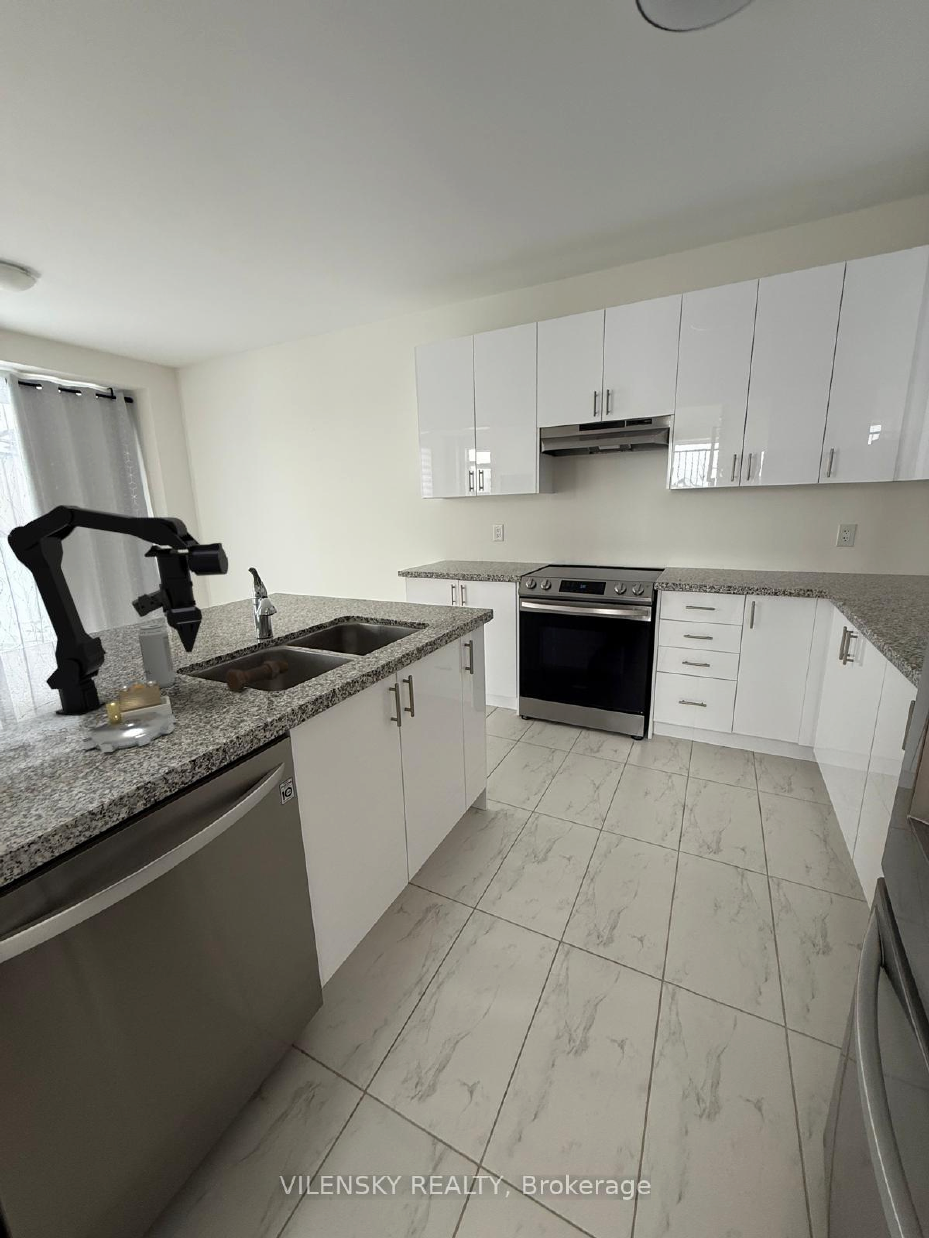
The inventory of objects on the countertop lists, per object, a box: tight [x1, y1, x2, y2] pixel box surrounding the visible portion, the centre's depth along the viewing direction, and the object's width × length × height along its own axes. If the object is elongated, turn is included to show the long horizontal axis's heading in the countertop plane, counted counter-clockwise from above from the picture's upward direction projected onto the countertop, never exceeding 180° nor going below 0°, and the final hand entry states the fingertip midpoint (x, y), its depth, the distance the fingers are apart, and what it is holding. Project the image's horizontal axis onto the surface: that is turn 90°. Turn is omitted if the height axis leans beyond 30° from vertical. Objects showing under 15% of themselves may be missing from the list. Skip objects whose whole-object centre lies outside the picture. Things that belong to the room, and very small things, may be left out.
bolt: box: [225, 660, 289, 693], centre depth 122 cm, size 6×5×15 cm
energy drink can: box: [137, 623, 176, 689], centre depth 121 cm, size 6×6×15 cm
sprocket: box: [81, 700, 176, 753], centre depth 93 cm, size 15×15×6 cm
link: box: [117, 680, 162, 713], centre depth 103 cm, size 7×4×6 cm, turn 124°
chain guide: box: [119, 695, 173, 717], centre depth 104 cm, size 10×6×2 cm, turn 124°
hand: (186, 647), depth 109 cm, fingers open, 9 cm apart
